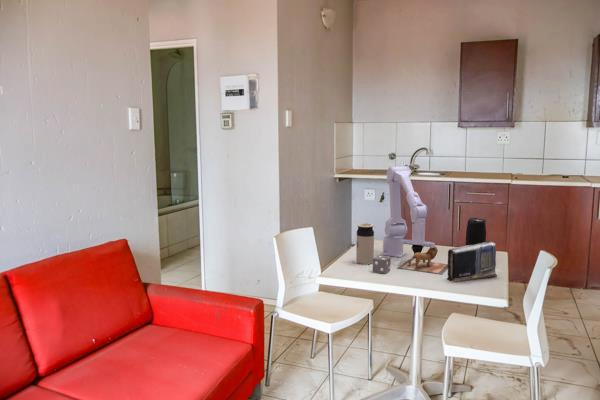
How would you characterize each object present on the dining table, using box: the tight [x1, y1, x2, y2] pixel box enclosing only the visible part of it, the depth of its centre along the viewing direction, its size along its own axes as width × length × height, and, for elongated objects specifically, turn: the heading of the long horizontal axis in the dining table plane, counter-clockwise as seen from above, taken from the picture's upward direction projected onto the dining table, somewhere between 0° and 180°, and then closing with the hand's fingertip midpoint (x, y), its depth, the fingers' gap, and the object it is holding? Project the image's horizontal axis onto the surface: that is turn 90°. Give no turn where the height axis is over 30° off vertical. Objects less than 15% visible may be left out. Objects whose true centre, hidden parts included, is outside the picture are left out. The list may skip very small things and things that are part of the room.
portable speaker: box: [465, 217, 487, 246], centre depth 238 cm, size 9×9×20 cm
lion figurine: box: [408, 245, 439, 268], centre depth 225 cm, size 15×5×9 cm, turn 122°
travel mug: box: [356, 222, 375, 265], centre depth 234 cm, size 8×8×18 cm
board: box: [397, 258, 448, 275], centre depth 227 cm, size 20×17×1 cm
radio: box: [446, 240, 498, 283], centre depth 210 cm, size 23×9×15 cm, turn 102°
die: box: [372, 255, 392, 275], centre depth 220 cm, size 6×6×6 cm
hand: (417, 261), depth 229 cm, fingers closed, pressing on lion figurine
